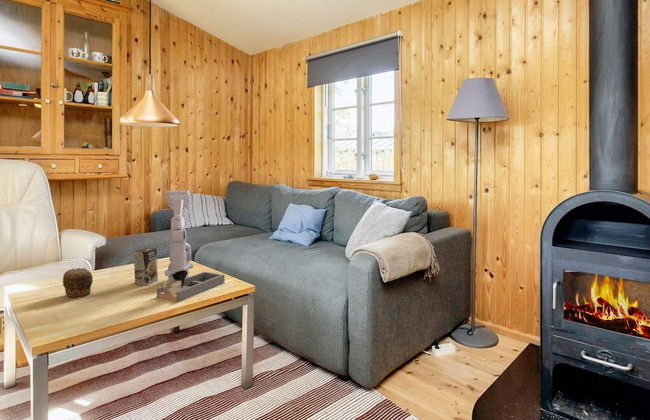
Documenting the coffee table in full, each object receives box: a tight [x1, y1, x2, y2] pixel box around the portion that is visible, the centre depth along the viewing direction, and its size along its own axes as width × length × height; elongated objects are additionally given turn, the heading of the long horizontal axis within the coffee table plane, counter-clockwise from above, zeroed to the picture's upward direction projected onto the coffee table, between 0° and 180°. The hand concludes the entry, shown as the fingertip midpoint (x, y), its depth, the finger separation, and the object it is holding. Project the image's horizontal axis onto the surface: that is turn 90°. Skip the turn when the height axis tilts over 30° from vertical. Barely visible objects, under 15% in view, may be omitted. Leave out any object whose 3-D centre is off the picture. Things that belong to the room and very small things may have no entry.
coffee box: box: [133, 247, 159, 287], centre depth 193 cm, size 9×6×16 cm
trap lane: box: [156, 271, 226, 303], centre depth 183 cm, size 12×29×4 cm, turn 155°
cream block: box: [163, 279, 182, 296], centre depth 172 cm, size 5×5×5 cm
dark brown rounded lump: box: [62, 267, 94, 299], centre depth 174 cm, size 11×11×12 cm
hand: (180, 287), depth 176 cm, fingers closed
